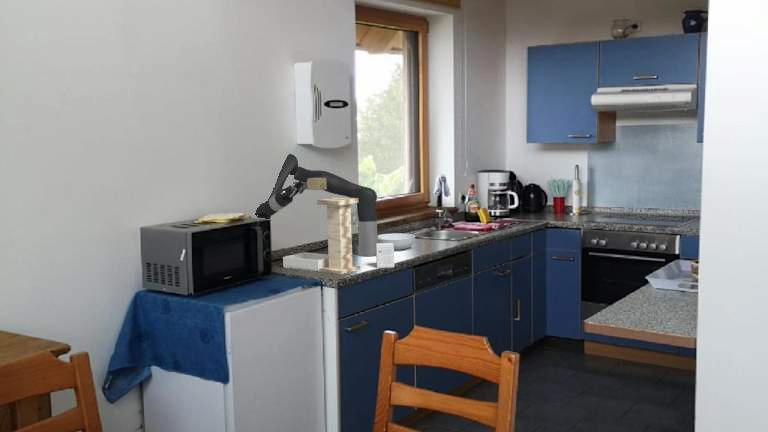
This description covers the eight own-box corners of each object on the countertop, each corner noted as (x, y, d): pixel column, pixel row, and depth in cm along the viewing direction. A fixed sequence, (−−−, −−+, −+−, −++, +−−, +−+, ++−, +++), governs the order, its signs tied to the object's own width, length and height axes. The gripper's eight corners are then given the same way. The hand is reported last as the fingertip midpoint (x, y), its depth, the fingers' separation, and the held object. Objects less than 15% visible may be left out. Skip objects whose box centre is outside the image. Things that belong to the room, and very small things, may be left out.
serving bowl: (368, 251, 404) (367, 238, 403) (387, 245, 422) (386, 232, 421) (404, 253, 394) (404, 239, 393) (422, 247, 413) (422, 234, 412)
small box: (393, 265, 361) (393, 242, 360) (394, 267, 356) (393, 244, 354) (376, 265, 361) (375, 243, 360) (376, 268, 355) (376, 244, 354)
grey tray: (305, 262, 374) (304, 252, 373) (339, 266, 362) (339, 255, 361) (283, 267, 362) (282, 256, 361) (318, 271, 349) (318, 260, 349)
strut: (299, 188, 363) (299, 177, 363) (326, 189, 354) (326, 177, 353) (290, 189, 358) (290, 178, 358) (317, 190, 349) (317, 178, 349)
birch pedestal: (339, 267, 360) (337, 197, 356) (360, 269, 353) (358, 198, 349) (319, 272, 348) (316, 200, 345) (340, 274, 342) (338, 200, 338)
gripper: (266, 194, 362) (290, 176, 352) (287, 191, 373) (311, 174, 364) (273, 208, 361) (297, 190, 351) (294, 205, 372) (317, 188, 362)
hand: (304, 182), depth 357 cm, fingers closed on strut, 3 cm apart
